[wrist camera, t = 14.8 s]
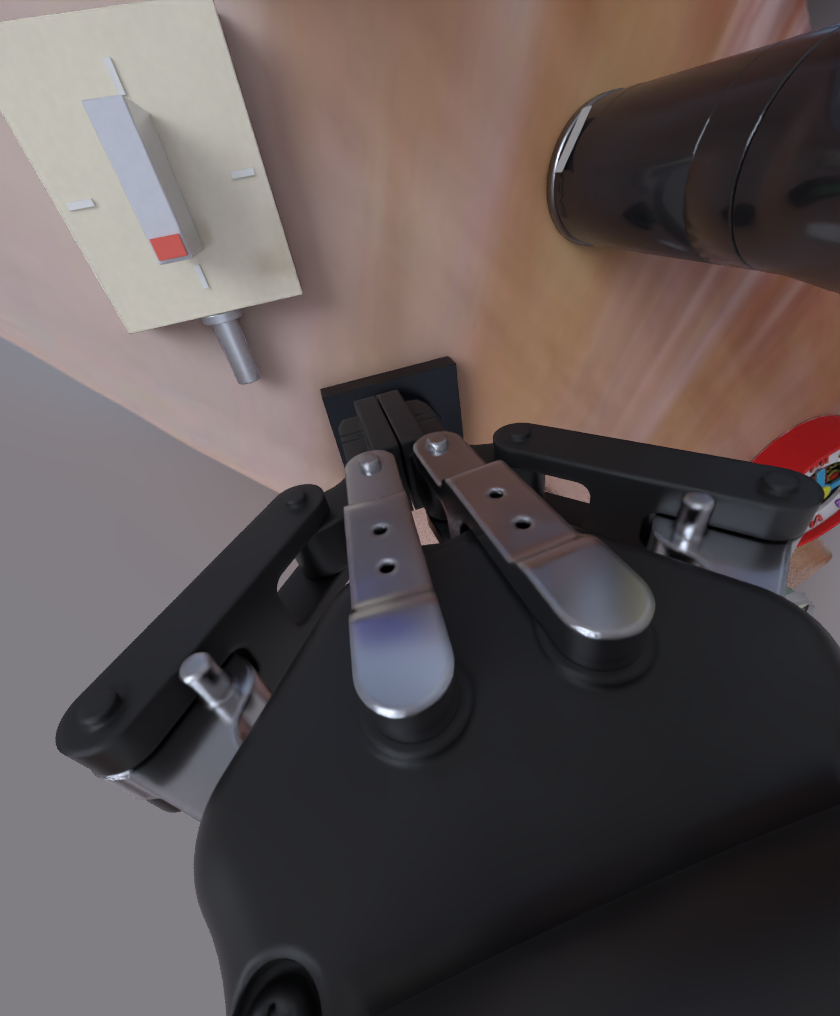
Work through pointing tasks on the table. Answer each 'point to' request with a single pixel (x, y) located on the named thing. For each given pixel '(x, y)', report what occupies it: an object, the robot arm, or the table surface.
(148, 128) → the pale grey rectangular block
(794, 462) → the toy clock
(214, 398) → the table surface
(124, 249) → the block
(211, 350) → the table surface
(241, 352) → the spout
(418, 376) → the button housing
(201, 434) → the table surface
